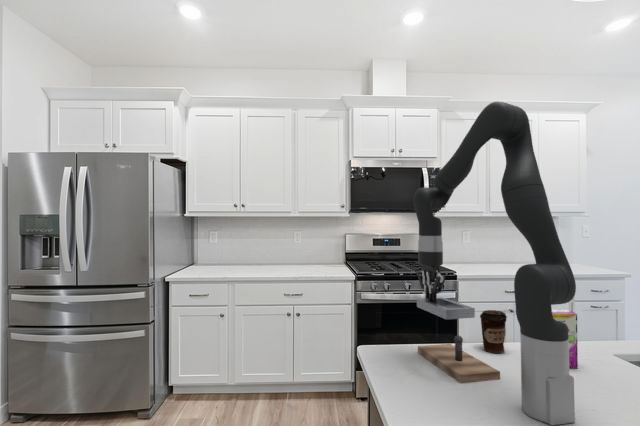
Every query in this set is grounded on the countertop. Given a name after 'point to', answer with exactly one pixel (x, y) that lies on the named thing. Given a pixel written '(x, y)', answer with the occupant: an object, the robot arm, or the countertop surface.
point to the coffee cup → (493, 330)
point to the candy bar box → (569, 333)
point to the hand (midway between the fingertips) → (430, 304)
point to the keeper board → (458, 362)
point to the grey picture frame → (446, 308)
